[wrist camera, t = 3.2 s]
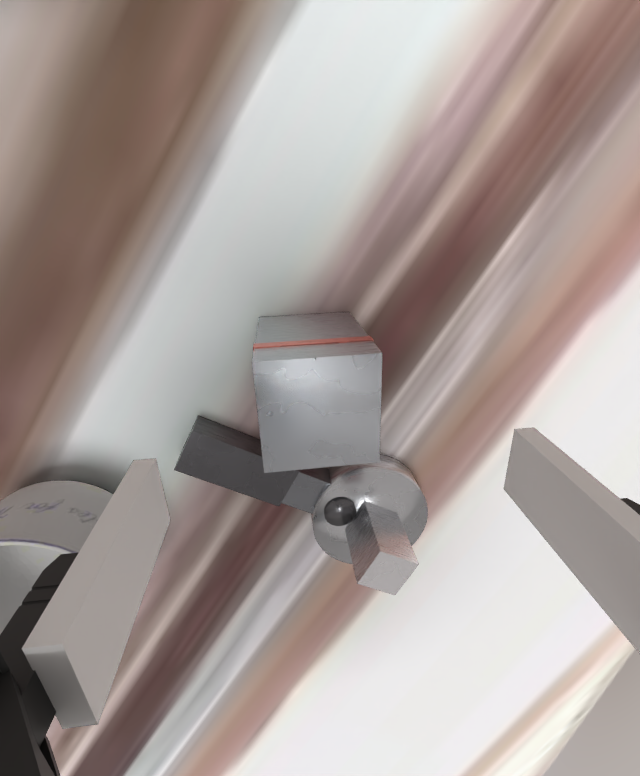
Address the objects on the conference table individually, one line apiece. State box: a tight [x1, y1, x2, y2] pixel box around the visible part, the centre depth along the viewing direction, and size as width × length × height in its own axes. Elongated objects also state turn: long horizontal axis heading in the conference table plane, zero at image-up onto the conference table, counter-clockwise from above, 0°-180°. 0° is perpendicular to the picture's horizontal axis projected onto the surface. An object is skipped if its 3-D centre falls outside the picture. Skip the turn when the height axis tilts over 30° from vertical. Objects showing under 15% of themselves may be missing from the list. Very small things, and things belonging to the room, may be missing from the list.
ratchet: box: [174, 416, 428, 595], centre depth 28 cm, size 20×9×8 cm, turn 62°
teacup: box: [0, 480, 113, 634], centre depth 27 cm, size 14×11×8 cm
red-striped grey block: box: [252, 312, 382, 473], centre depth 24 cm, size 6×6×9 cm
